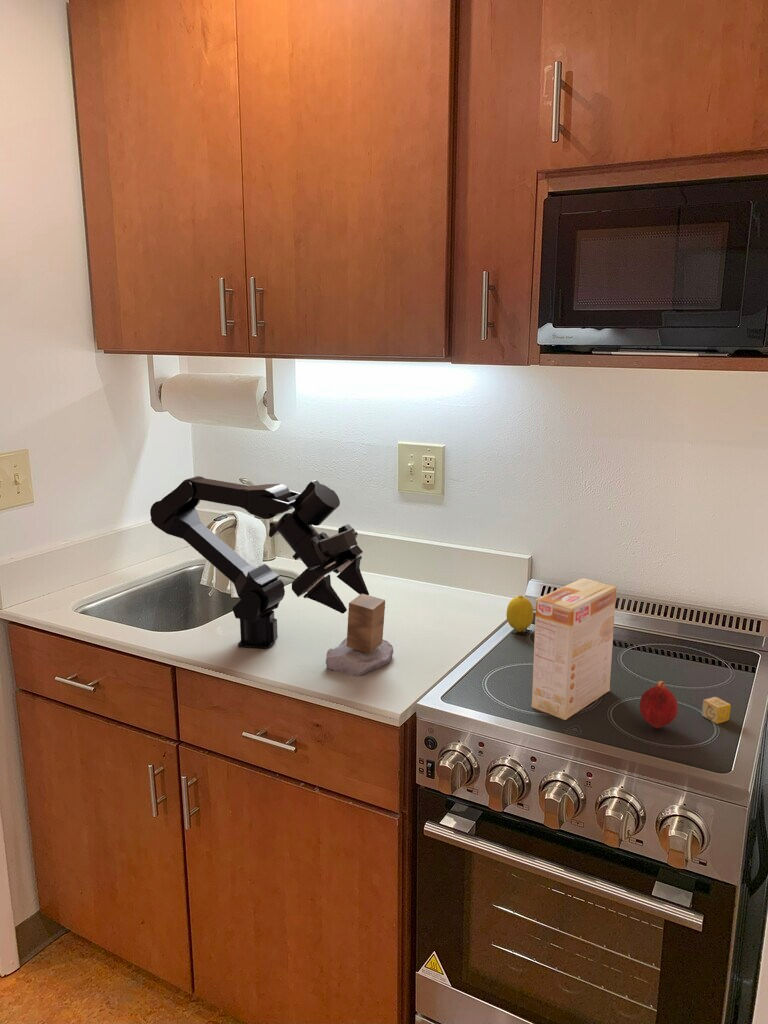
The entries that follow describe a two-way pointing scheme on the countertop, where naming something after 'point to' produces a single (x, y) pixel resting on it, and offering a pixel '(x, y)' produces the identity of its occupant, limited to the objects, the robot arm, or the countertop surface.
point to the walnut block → (365, 623)
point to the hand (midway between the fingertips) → (356, 604)
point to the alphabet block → (716, 710)
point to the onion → (658, 706)
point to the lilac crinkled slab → (358, 658)
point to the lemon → (520, 613)
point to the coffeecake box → (573, 647)
